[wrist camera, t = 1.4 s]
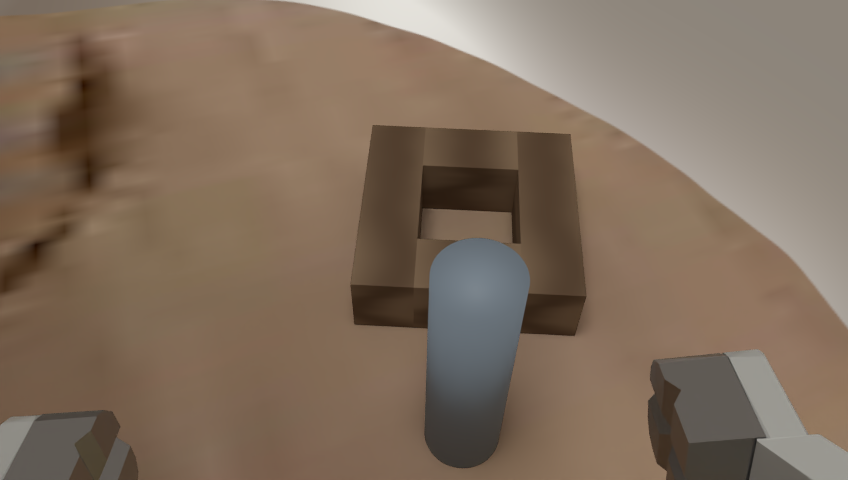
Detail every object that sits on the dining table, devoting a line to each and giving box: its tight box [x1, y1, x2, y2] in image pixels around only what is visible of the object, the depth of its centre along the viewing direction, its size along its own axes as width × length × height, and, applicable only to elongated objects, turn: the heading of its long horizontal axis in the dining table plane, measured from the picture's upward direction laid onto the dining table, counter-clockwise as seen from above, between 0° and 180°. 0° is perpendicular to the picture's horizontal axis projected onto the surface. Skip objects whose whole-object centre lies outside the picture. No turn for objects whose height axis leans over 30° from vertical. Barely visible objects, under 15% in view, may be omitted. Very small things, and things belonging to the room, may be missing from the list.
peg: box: [425, 238, 530, 468], centre depth 36 cm, size 4×4×14 cm
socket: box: [351, 125, 586, 336], centre depth 48 cm, size 13×13×4 cm
